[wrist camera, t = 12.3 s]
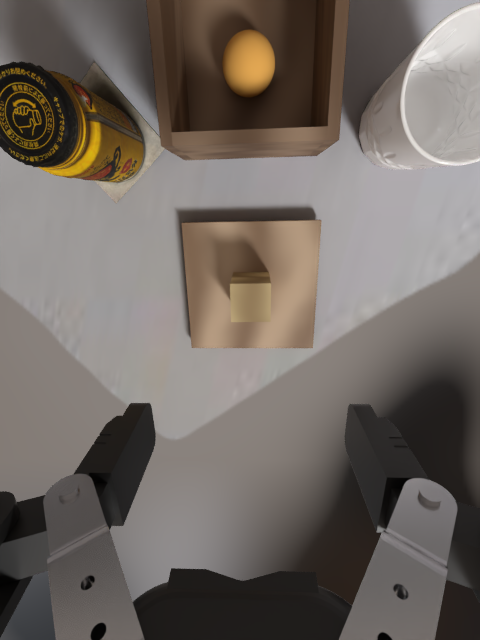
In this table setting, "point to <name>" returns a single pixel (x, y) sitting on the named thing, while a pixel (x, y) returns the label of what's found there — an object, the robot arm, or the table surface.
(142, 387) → the table surface
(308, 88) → the box
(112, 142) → the condiment
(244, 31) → the ball
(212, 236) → the lid
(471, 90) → the white cup
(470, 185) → the table surface
